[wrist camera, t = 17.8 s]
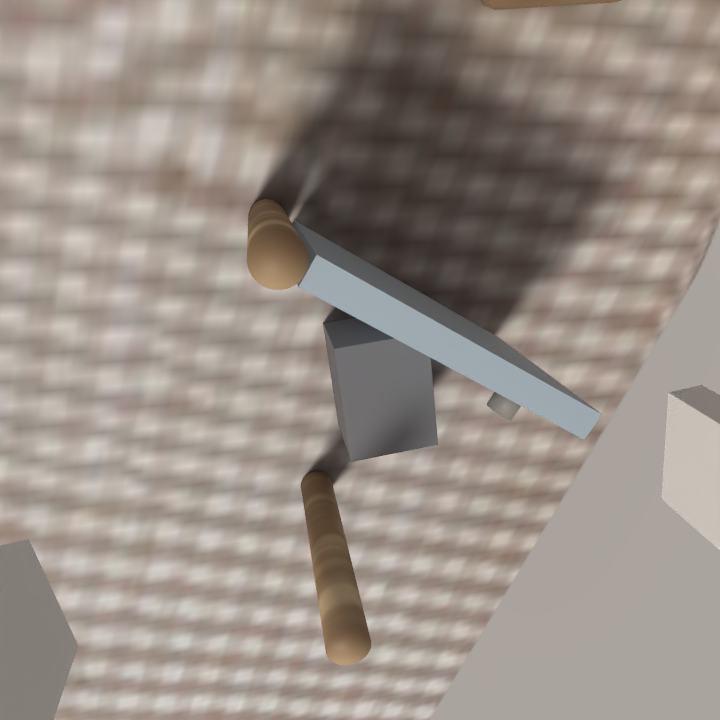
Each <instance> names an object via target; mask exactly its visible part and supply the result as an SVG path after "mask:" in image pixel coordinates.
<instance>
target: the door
mask: <svg viewBox="0 0 720 720" xmlns="http://www.w3.org/2000/svg"><path fill="white" fill-rule="evenodd" d="M292 225H293V227H294V228H295V230H296V232H297V234H298V235H299V237H300V239H301V240H302V242H303V244H304V246H305V248H306V250H307V254H308V266H307V270H306V272H305V274H304V276H303V278H302V279H301V280H300V281H299V282H298V283H297V284H298V287H299V288H301V289H303V290H305V291H307V292H308V293H310V294H312V295H314V296H316V297H318V298H320V299H322V300H323V301H325V302H327V303H329V304H331V305H333V306H335V307H337V308H338V309H340V310H342V311H344V312H346V313H348V314H350V315H352V316H353V317H355V318H357V319H359V320H361V321H363V322H365V323H367V324H368V325H370V326H372V327H374V328H376V329H378V330H380V331H382V332H383V333H385V334H387V335H389V336H391V337H393V338H395V339H397V340H398V341H400V342H402V343H404V344H406V345H408V346H410V347H412V348H413V349H415V350H417V351H419V352H421V353H423V354H425V355H427V356H428V357H430V358H432V359H434V360H436V361H438V362H440V363H442V364H443V365H445V366H447V367H449V368H451V369H453V370H455V371H457V372H458V373H460V374H462V375H464V376H466V377H468V378H470V379H472V380H473V381H475V382H477V383H479V384H481V385H483V386H485V387H487V388H488V389H490V390H492V391H494V394H493V395H492V397H491V398H490V400H489V401H488V403H487V406H488V407H490V408H491V409H492V410H493V411H495V412H496V413H498V414H499V415H501V416H502V417H504V418H506V419H508V420H512V418H513V417H514V415H515V414H516V412H517V411H518V409H519V408H520V406H522V407H524V408H526V409H528V410H530V411H532V412H533V413H535V414H537V415H539V416H541V417H543V418H545V419H547V420H548V421H550V422H552V423H554V424H556V425H558V426H560V427H562V428H563V429H565V430H567V431H569V432H571V433H573V434H575V435H576V436H578V437H580V438H582V439H585V438H586V436H587V435H588V434H589V432H590V431H591V429H592V428H593V427H594V425H595V424H596V422H597V421H598V420H599V418H600V417H601V415H602V414H601V413H599V412H598V411H597V410H595V409H594V408H593V407H591V406H590V405H589V404H587V403H586V402H585V401H583V400H582V399H581V398H579V397H578V396H577V395H575V394H574V393H573V392H571V391H570V390H569V389H567V388H566V387H565V386H563V385H562V384H561V383H559V382H558V381H557V380H555V379H554V378H552V377H551V376H550V375H548V374H547V373H546V372H544V371H543V370H542V369H540V368H539V367H538V366H536V365H535V364H534V363H532V362H531V361H530V360H528V359H527V358H526V357H524V356H523V355H522V354H520V353H519V352H518V351H516V350H515V349H514V348H512V347H511V346H510V345H508V344H507V343H506V342H504V341H503V340H502V339H500V338H499V337H497V336H495V335H494V334H492V333H490V332H488V331H487V330H485V329H483V328H481V327H480V326H478V325H476V324H474V323H473V322H471V321H469V320H467V319H466V318H464V317H462V316H461V315H459V314H457V313H455V312H454V311H452V310H450V309H448V308H447V307H445V306H443V305H441V304H440V303H438V302H436V301H434V300H433V299H431V298H429V297H427V296H426V295H424V294H422V293H420V292H419V291H417V290H415V289H413V288H412V287H410V286H408V285H406V284H405V283H403V282H401V281H399V280H398V279H396V278H394V277H392V276H391V275H389V274H387V273H386V272H384V271H382V270H380V269H379V268H377V267H375V266H373V265H372V264H370V263H368V262H366V261H365V260H363V259H361V258H359V257H358V256H356V255H354V254H352V253H351V252H349V251H347V250H345V249H344V248H342V247H340V246H338V245H337V244H335V243H333V242H331V241H330V240H328V239H326V238H324V237H323V236H321V235H319V234H318V233H316V232H314V231H312V230H311V229H309V228H307V227H305V226H304V225H302V224H300V223H298V222H297V221H295V220H294V222H293V224H292Z"/></svg>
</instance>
